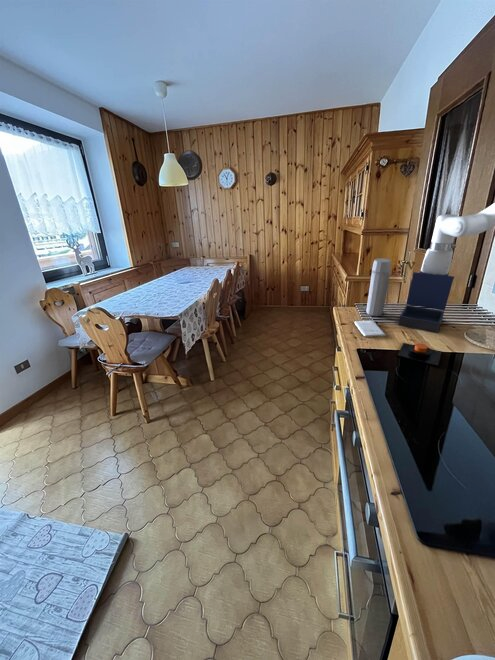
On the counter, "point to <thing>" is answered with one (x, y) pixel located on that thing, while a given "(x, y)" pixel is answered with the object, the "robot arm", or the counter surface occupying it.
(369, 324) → the hard drive
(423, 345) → the button
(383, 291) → the water bottle
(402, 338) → the counter surface
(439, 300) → the cover
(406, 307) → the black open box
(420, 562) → the counter surface
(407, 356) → the switch block
